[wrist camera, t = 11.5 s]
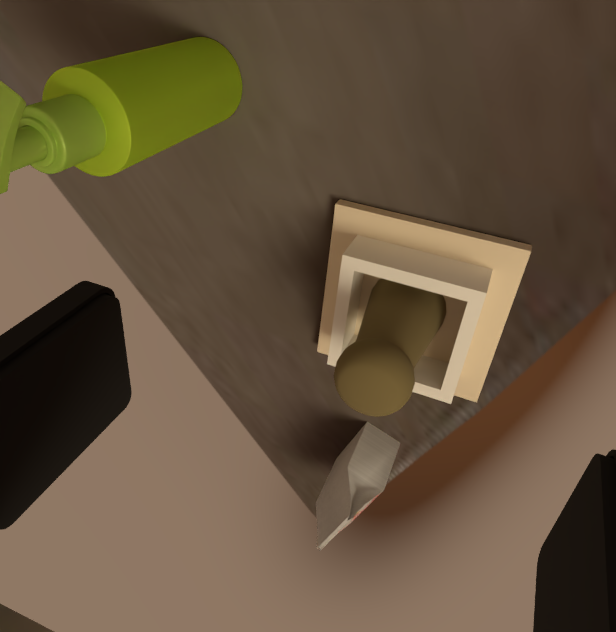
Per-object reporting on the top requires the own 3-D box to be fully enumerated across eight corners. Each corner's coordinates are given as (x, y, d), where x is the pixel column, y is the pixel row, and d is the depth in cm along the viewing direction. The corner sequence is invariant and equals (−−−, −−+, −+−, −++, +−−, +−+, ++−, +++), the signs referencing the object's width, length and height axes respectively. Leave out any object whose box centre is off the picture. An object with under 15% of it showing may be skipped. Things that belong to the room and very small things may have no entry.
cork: (426, 350, 45) (392, 445, 36) (359, 317, 45) (309, 402, 37) (460, 293, 41) (430, 383, 32) (385, 258, 42) (337, 337, 33)
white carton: (336, 457, 57) (299, 538, 49) (367, 421, 53) (331, 503, 45) (367, 477, 57) (334, 561, 49) (400, 442, 52) (370, 528, 45)
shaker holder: (339, 198, 42) (318, 221, 38) (531, 245, 38) (527, 275, 35) (321, 345, 50) (302, 375, 46) (478, 394, 46) (470, 431, 43)
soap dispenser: (262, 57, 38) (51, 130, 23) (222, 138, 43) (23, 245, 27) (194, 4, 38) (-65, 41, 23) (161, 90, 43) (-74, 171, 27)
